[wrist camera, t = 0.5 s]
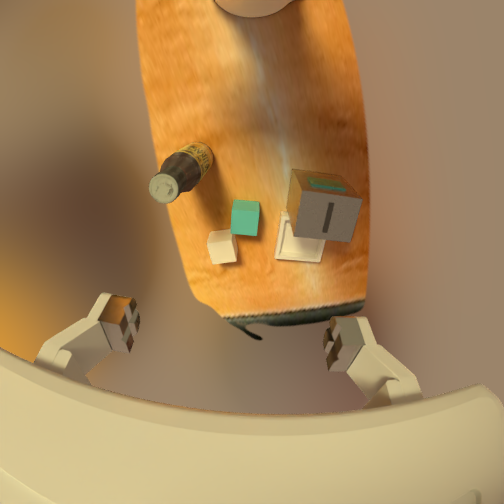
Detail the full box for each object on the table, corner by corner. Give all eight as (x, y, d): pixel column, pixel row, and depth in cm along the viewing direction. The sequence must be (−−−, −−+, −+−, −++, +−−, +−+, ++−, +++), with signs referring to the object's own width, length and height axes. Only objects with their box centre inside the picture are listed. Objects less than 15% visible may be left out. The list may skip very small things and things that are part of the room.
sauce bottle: (220, 160, 49) (201, 199, 32) (194, 177, 51) (164, 224, 34) (200, 132, 46) (169, 156, 29) (174, 151, 48) (133, 186, 31)
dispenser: (292, 167, 50) (302, 188, 39) (342, 174, 50) (363, 198, 40) (286, 207, 54) (293, 237, 44) (333, 212, 54) (350, 243, 44)
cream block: (210, 231, 57) (206, 243, 53) (233, 228, 57) (231, 240, 53) (215, 251, 60) (212, 264, 56) (237, 248, 60) (236, 261, 55)
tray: (280, 211, 54) (281, 215, 53) (328, 216, 55) (330, 221, 53) (274, 252, 60) (274, 258, 58) (317, 256, 60) (319, 262, 58)
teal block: (234, 199, 53) (232, 209, 49) (259, 201, 54) (259, 212, 49) (232, 221, 56) (230, 233, 52) (256, 223, 56) (256, 235, 52)
